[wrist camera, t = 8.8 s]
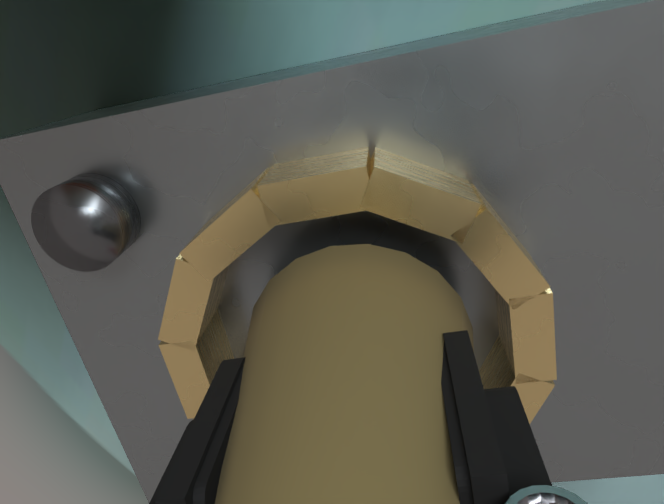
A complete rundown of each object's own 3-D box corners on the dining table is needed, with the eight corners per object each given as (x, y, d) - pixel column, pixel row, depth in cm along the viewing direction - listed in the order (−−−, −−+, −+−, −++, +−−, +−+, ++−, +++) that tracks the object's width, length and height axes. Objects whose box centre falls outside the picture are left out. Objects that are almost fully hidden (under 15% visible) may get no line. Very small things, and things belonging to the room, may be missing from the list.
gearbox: (94, 110, 19) (-79, 161, 12) (600, 1, 17) (773, -19, 9) (203, 404, 25) (129, 563, 17) (601, 360, 22) (712, 529, 14)
